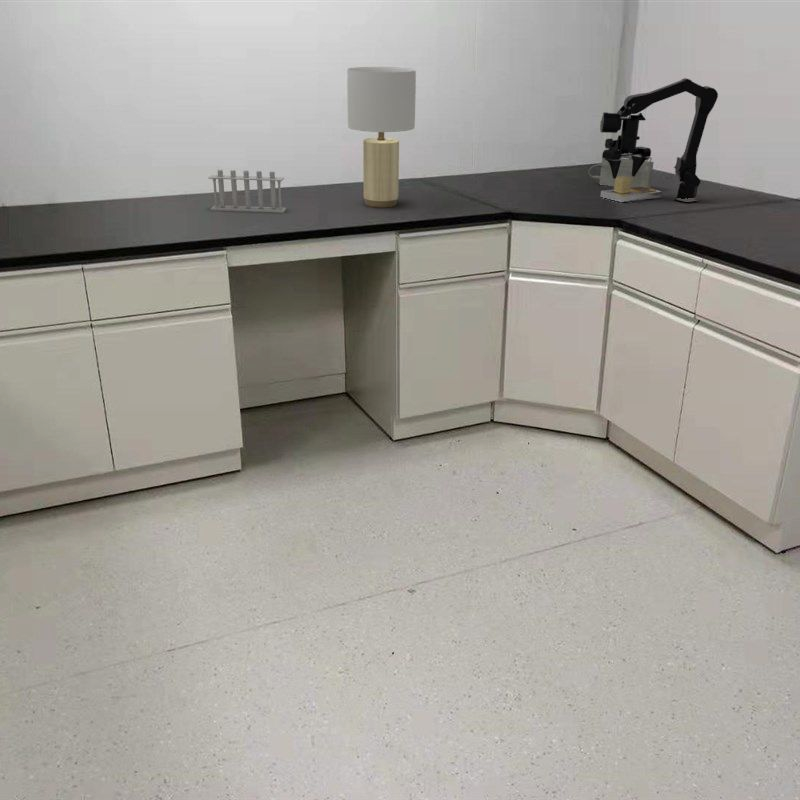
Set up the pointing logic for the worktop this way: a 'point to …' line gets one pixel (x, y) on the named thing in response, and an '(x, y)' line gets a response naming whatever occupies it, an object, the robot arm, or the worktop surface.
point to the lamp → (381, 125)
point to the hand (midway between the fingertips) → (623, 177)
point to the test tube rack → (247, 192)
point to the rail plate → (631, 194)
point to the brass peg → (622, 185)
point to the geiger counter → (626, 172)
